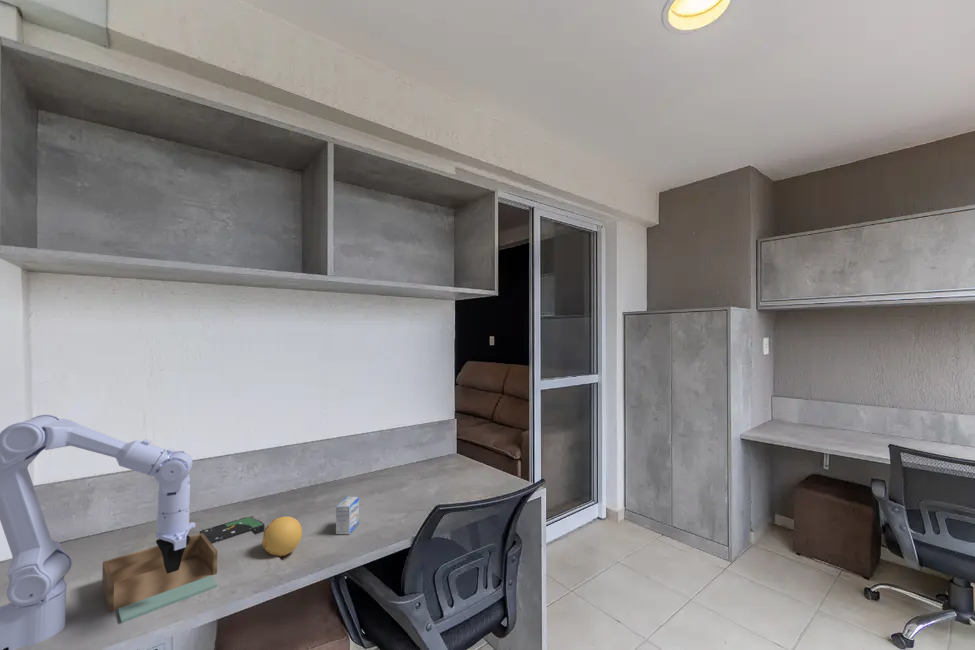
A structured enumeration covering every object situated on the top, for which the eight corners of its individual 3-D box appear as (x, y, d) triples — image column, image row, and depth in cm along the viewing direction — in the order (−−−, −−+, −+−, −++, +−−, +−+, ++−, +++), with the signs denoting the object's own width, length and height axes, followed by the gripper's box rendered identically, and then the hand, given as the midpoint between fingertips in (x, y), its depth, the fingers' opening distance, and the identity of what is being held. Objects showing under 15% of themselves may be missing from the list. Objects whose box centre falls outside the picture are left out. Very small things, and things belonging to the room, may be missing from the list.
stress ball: (304, 556, 116) (307, 521, 123) (294, 541, 109) (298, 505, 117) (266, 566, 114) (272, 530, 121) (253, 551, 107) (260, 514, 115)
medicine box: (349, 535, 126) (350, 506, 127) (335, 534, 127) (335, 506, 127) (359, 523, 134) (359, 496, 135) (345, 523, 134) (345, 496, 135)
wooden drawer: (108, 619, 88) (109, 586, 89) (101, 591, 98) (102, 561, 98) (216, 579, 103) (217, 551, 103) (202, 558, 113) (202, 532, 113)
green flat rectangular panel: (118, 615, 89) (121, 627, 85) (118, 608, 89) (121, 620, 85) (210, 581, 101) (217, 590, 98) (210, 575, 101) (217, 584, 98)
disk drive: (210, 552, 117) (265, 532, 129) (210, 542, 117) (265, 523, 129) (198, 540, 124) (251, 522, 135) (198, 531, 124) (252, 514, 135)
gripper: (203, 513, 90) (202, 576, 90) (188, 495, 100) (186, 552, 100) (163, 523, 85) (161, 590, 85) (150, 503, 95) (149, 563, 95)
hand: (172, 570), depth 92 cm, fingers closed
